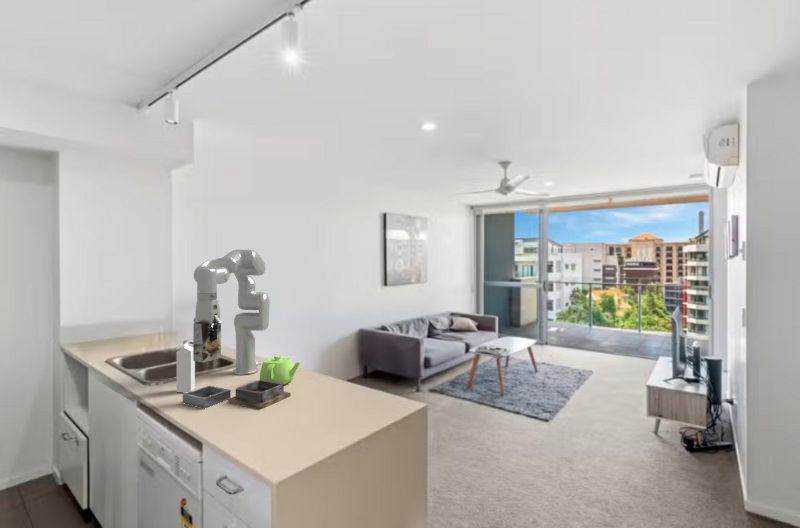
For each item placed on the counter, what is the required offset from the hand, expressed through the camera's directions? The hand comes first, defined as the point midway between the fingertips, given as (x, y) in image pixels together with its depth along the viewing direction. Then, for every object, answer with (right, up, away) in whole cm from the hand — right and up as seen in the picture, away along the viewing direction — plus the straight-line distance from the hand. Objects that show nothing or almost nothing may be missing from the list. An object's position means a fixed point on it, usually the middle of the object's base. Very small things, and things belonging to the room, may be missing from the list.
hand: (207, 338), depth 171 cm
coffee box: (0, -9, 0) cm, 9 cm away
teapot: (+24, -27, +26) cm, 44 cm away
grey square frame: (0, -26, 0) cm, 26 cm away
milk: (-16, -26, +13) cm, 33 cm away
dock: (+21, -26, +3) cm, 34 cm away
